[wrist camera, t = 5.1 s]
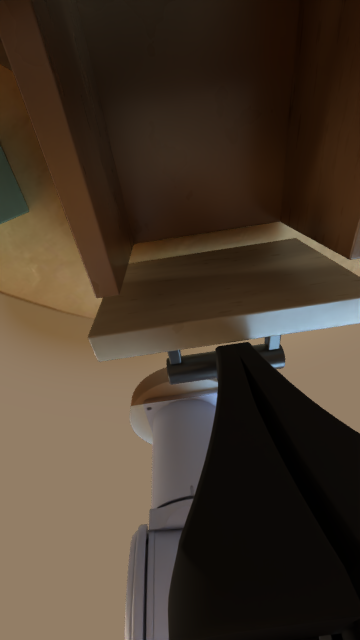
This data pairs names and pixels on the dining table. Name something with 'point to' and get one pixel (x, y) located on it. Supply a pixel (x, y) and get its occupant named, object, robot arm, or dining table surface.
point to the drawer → (199, 161)
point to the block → (9, 193)
